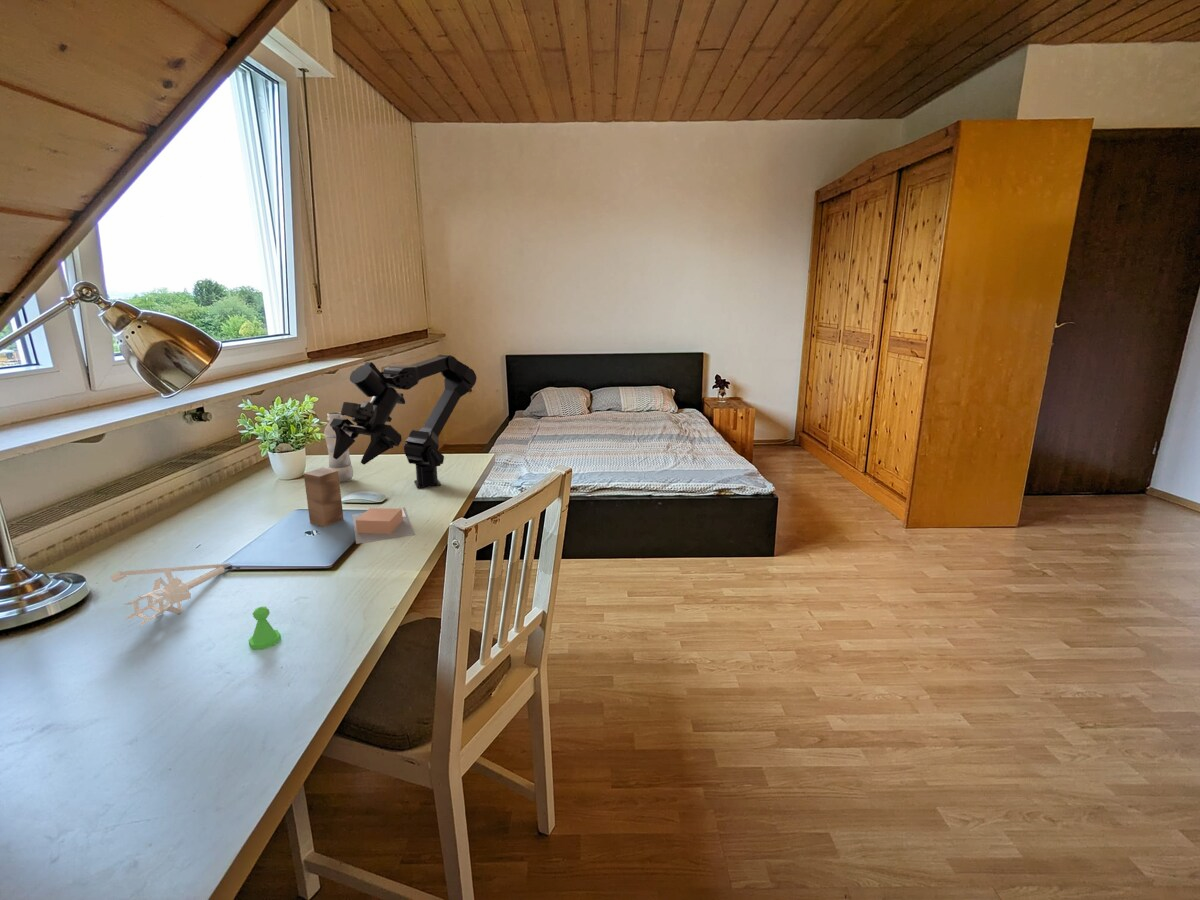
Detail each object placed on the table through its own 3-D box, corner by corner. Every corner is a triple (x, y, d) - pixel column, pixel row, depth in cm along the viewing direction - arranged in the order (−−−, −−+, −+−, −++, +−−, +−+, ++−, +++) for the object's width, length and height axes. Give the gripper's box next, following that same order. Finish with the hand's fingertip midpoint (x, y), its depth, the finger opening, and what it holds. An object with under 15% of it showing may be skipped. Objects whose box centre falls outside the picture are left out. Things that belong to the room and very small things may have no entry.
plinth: (371, 519, 130) (370, 508, 130) (402, 520, 130) (401, 508, 130) (356, 532, 123) (355, 520, 122) (390, 533, 123) (389, 521, 122)
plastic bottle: (337, 477, 164) (330, 410, 158) (359, 478, 163) (352, 411, 157) (324, 484, 157) (316, 415, 152) (346, 485, 156) (338, 416, 151)
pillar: (329, 519, 133) (322, 467, 129) (343, 523, 131) (338, 470, 127) (310, 526, 128) (303, 473, 125) (325, 530, 126) (319, 476, 123)
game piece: (252, 636, 87) (246, 602, 86) (283, 631, 89) (278, 597, 87) (246, 652, 83) (240, 617, 82) (278, 646, 85) (273, 611, 83)
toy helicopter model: (235, 613, 108) (115, 636, 84) (218, 572, 110) (95, 582, 85) (263, 597, 108) (152, 615, 84) (246, 556, 110) (131, 562, 85)
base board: (352, 518, 134) (352, 513, 133) (404, 511, 139) (404, 506, 138) (356, 548, 118) (356, 542, 118) (415, 538, 123) (415, 533, 123)
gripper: (332, 385, 137) (297, 438, 130) (388, 391, 129) (354, 448, 122) (360, 411, 146) (329, 462, 139) (415, 418, 138) (385, 472, 131)
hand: (348, 461), depth 133 cm, fingers open, 9 cm apart
